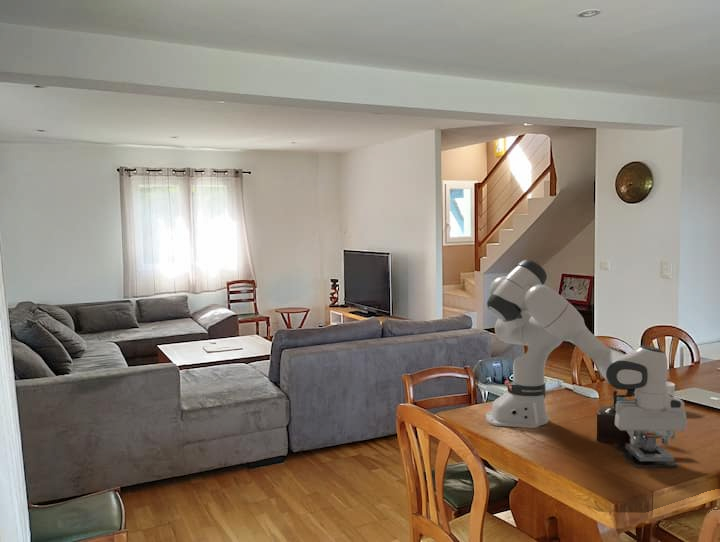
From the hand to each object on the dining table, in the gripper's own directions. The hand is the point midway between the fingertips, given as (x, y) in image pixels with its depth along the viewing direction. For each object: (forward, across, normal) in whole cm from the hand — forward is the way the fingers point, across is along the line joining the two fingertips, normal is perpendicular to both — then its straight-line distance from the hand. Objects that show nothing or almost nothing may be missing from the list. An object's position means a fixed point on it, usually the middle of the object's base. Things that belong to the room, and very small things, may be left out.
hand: (649, 443), depth 182 cm
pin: (+5, 0, 0) cm, 5 cm away
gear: (+6, +9, +39) cm, 40 cm away
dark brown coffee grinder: (+6, -2, +21) cm, 22 cm away
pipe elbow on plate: (+5, +2, +3) cm, 6 cm away
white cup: (+6, +27, +52) cm, 59 cm away
